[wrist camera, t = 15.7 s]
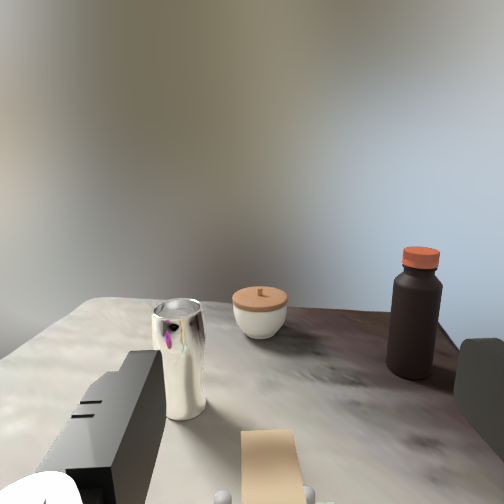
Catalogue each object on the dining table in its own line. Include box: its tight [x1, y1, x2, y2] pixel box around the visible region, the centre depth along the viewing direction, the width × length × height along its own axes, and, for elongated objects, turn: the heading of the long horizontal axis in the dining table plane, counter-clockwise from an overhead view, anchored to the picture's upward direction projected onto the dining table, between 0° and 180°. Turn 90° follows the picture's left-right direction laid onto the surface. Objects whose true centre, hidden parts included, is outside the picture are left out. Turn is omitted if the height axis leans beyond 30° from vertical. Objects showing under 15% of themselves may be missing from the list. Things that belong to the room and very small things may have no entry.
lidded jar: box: [233, 287, 287, 339], centre depth 69 cm, size 11×11×9 cm
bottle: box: [386, 247, 443, 380], centre depth 54 cm, size 7×7×20 cm
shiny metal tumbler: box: [151, 298, 206, 421], centre depth 47 cm, size 7×7×15 cm
